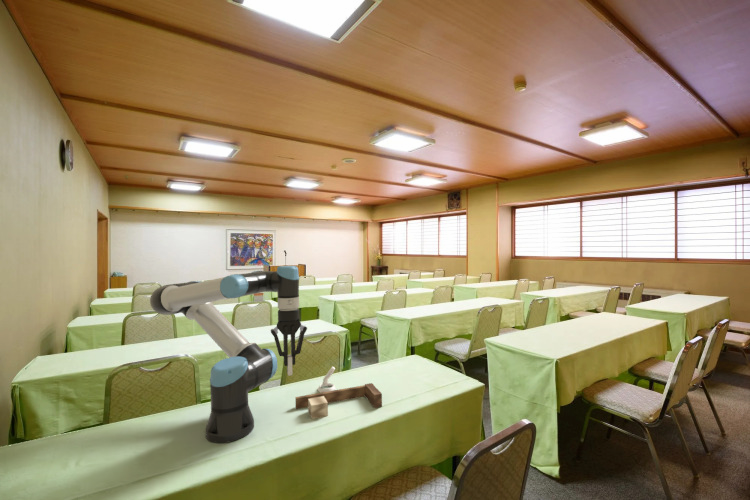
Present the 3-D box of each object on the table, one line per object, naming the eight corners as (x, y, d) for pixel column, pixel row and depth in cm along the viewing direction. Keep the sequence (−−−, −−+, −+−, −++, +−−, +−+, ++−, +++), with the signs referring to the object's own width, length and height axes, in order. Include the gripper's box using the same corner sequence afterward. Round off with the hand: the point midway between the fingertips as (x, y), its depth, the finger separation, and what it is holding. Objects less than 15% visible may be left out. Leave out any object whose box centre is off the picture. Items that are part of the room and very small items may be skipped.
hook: (347, 379, 146) (333, 372, 143) (330, 401, 146) (317, 395, 144) (343, 369, 153) (331, 363, 150) (328, 391, 153) (315, 384, 151)
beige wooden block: (311, 419, 123) (311, 405, 123) (308, 412, 128) (308, 398, 128) (327, 416, 125) (327, 402, 125) (324, 408, 131) (323, 395, 131)
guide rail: (300, 422, 120) (300, 408, 120) (295, 407, 132) (295, 394, 132) (384, 406, 132) (384, 393, 132) (372, 393, 144) (372, 381, 143)
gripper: (270, 312, 117) (271, 380, 117) (308, 309, 121) (309, 374, 122) (268, 308, 124) (270, 373, 124) (305, 305, 128) (306, 368, 129)
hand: (289, 373), depth 123 cm, fingers closed
